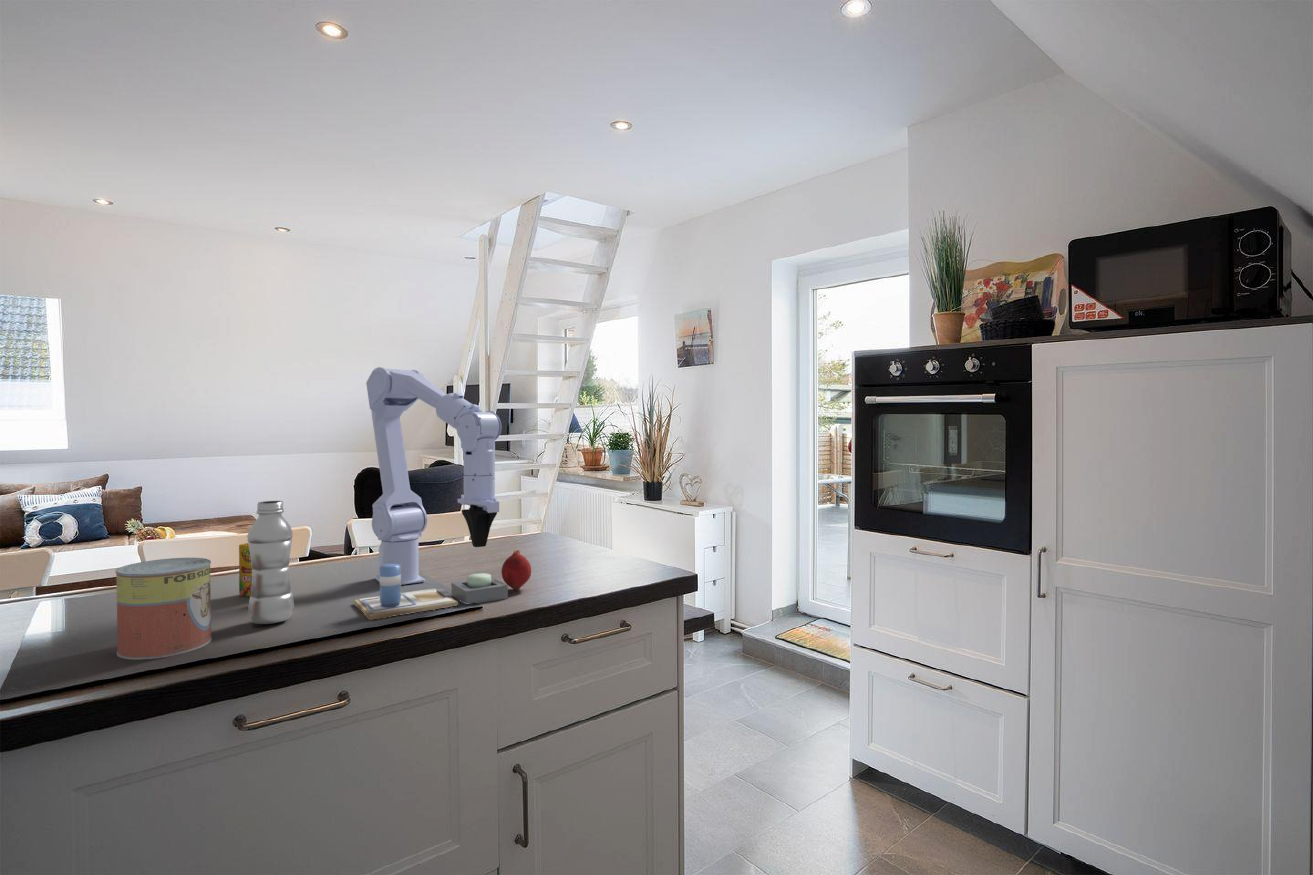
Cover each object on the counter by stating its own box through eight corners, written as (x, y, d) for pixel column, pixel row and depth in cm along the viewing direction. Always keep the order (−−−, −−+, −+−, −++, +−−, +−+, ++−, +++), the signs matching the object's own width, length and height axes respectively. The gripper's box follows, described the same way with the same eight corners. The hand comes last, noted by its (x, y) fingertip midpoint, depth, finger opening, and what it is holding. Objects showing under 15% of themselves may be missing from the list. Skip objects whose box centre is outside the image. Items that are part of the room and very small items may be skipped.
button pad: (451, 595, 127) (451, 582, 127) (491, 589, 132) (491, 576, 132) (466, 605, 121) (466, 591, 121) (507, 598, 125) (507, 585, 125)
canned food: (190, 656, 94) (189, 572, 93) (98, 662, 91) (97, 575, 91) (224, 631, 105) (223, 556, 104) (143, 636, 102) (142, 558, 102)
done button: (463, 585, 127) (463, 575, 127) (486, 582, 129) (486, 572, 129) (472, 590, 123) (472, 579, 123) (494, 587, 126) (494, 576, 126)
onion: (527, 593, 129) (527, 552, 129) (498, 593, 129) (498, 552, 129) (533, 586, 135) (533, 547, 134) (505, 585, 135) (505, 546, 134)
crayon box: (238, 595, 126) (237, 534, 125) (252, 592, 128) (252, 532, 128) (265, 600, 123) (265, 537, 123) (280, 596, 126) (279, 535, 125)
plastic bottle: (303, 618, 112) (302, 500, 111) (268, 630, 105) (267, 505, 105) (274, 614, 114) (273, 498, 113) (238, 626, 107) (237, 503, 107)
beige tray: (354, 604, 121) (354, 596, 121) (436, 592, 129) (436, 584, 129) (369, 620, 111) (369, 612, 111) (458, 606, 120) (458, 598, 120)
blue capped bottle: (378, 604, 117) (378, 564, 117) (398, 601, 119) (398, 562, 119) (381, 608, 114) (381, 568, 114) (402, 606, 116) (402, 566, 116)
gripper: (445, 473, 129) (445, 542, 130) (472, 478, 117) (472, 555, 118) (480, 471, 133) (480, 538, 134) (510, 476, 122) (510, 550, 122)
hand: (479, 546), depth 126 cm, fingers closed
